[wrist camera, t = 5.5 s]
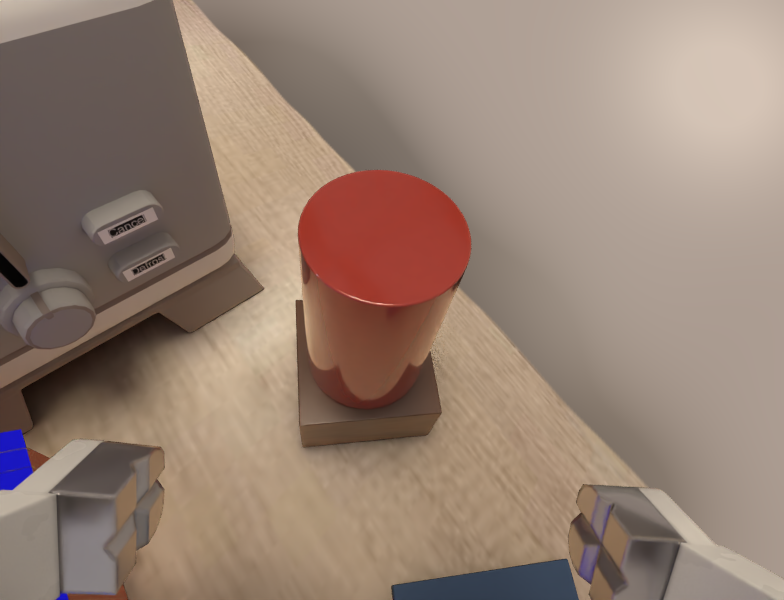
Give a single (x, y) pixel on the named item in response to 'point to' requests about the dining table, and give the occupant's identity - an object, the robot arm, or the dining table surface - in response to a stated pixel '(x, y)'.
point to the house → (12, 466)
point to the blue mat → (497, 584)
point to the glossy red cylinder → (377, 281)
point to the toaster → (102, 187)
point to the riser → (347, 424)
